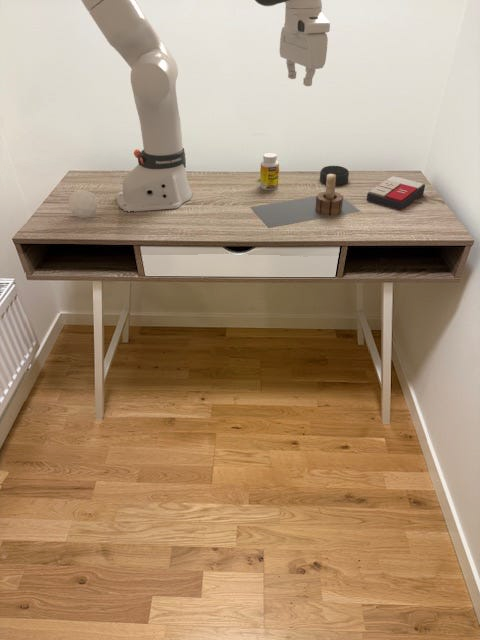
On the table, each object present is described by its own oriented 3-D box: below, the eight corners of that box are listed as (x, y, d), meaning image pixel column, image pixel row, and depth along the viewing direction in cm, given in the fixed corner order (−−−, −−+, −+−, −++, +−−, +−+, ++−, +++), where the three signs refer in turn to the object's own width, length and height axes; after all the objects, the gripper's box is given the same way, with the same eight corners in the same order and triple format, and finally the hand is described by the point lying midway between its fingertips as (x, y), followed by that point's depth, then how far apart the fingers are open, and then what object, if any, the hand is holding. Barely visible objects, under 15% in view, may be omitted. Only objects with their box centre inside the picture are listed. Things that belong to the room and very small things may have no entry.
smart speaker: (331, 189, 150) (332, 177, 147) (313, 180, 156) (314, 168, 153) (353, 183, 153) (355, 171, 151) (335, 175, 159) (337, 163, 157)
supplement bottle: (267, 192, 148) (267, 159, 142) (256, 186, 152) (257, 154, 146) (281, 188, 150) (283, 155, 144) (271, 182, 154) (271, 150, 148)
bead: (323, 217, 133) (324, 203, 131) (311, 207, 138) (312, 193, 136) (345, 212, 135) (347, 199, 133) (333, 203, 140) (334, 190, 138)
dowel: (326, 212, 136) (329, 177, 129) (322, 208, 137) (325, 174, 131) (334, 210, 136) (337, 176, 130) (330, 207, 138) (333, 173, 132)
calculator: (367, 190, 140) (392, 173, 148) (365, 204, 143) (390, 186, 151) (402, 200, 134) (426, 182, 142) (399, 214, 137) (423, 195, 145)
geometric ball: (95, 225, 138) (103, 208, 132) (66, 222, 134) (73, 204, 128) (91, 204, 141) (99, 186, 135) (63, 200, 136) (70, 181, 130)
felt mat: (268, 229, 129) (268, 227, 128) (249, 208, 139) (249, 207, 139) (360, 212, 136) (360, 211, 136) (336, 193, 147) (336, 192, 146)
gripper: (274, 17, 127) (273, 75, 135) (309, 26, 111) (305, 91, 120) (296, 16, 128) (293, 73, 137) (333, 24, 113) (328, 88, 121)
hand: (299, 82), depth 128 cm, fingers open, 8 cm apart
